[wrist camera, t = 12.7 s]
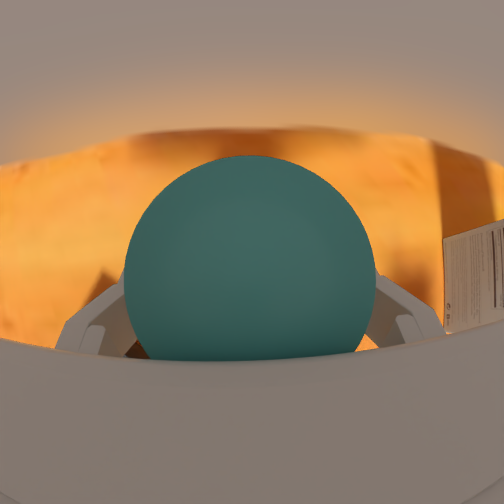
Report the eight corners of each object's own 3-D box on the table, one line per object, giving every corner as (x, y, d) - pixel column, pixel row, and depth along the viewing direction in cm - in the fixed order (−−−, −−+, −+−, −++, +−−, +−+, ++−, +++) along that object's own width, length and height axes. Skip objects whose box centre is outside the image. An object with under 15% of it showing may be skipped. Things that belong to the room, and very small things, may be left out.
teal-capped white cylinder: (179, 302, 15) (84, 315, 6) (231, 220, 16) (213, 118, 6) (263, 354, 15) (290, 444, 5) (314, 270, 16) (411, 239, 6)
